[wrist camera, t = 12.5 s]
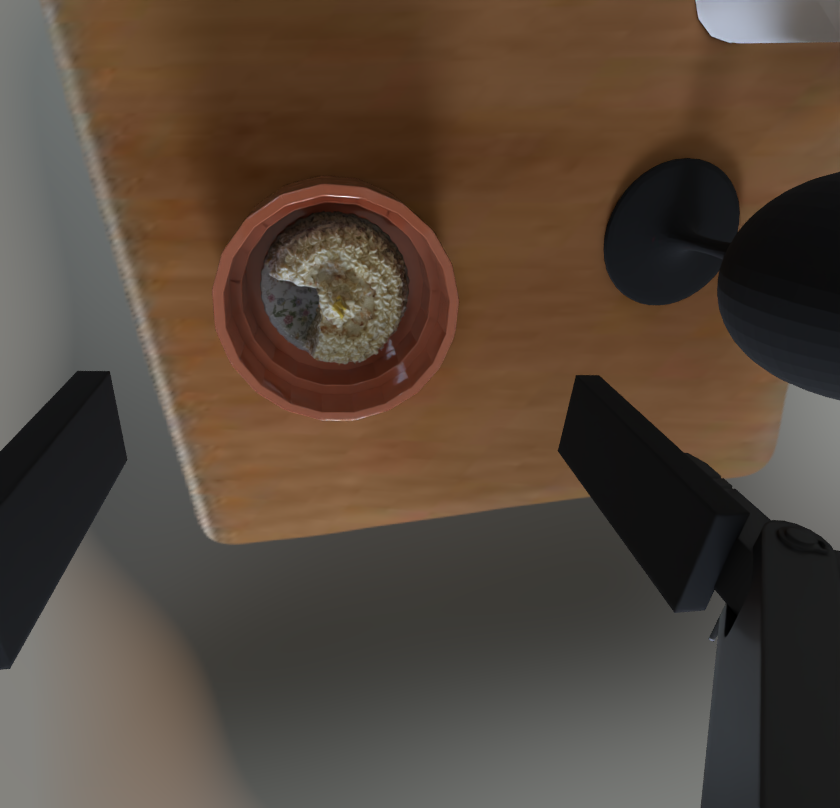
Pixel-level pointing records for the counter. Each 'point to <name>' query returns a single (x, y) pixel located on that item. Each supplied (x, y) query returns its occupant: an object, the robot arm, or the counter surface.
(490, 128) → the counter surface
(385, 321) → the cake
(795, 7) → the foam cup
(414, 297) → the bowl
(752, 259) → the wine glass
